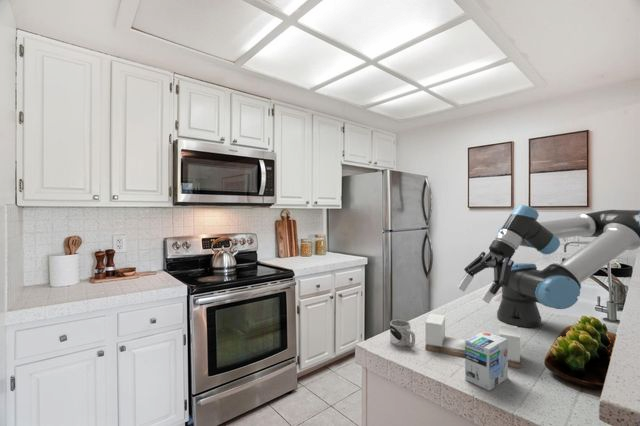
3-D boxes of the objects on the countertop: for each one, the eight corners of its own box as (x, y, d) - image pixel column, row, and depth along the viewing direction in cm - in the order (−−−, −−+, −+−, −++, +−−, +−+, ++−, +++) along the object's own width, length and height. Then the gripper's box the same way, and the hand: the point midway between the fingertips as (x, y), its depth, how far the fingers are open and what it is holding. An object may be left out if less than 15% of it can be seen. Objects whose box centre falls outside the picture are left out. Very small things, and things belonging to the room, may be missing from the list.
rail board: (516, 353, 97) (516, 347, 97) (520, 368, 89) (520, 362, 89) (430, 337, 110) (430, 332, 110) (425, 349, 101) (425, 343, 101)
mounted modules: (517, 348, 97) (517, 326, 97) (519, 361, 89) (520, 337, 89) (429, 333, 109) (429, 313, 109) (425, 343, 101) (425, 322, 101)
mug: (386, 340, 108) (386, 321, 108) (400, 336, 111) (400, 318, 111) (406, 352, 99) (406, 332, 99) (422, 348, 102) (422, 328, 102)
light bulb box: (489, 392, 78) (489, 349, 78) (463, 379, 83) (463, 340, 83) (508, 377, 84) (509, 338, 84) (483, 367, 90) (483, 330, 89)
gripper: (474, 235, 121) (444, 280, 120) (524, 243, 96) (487, 300, 95) (489, 246, 122) (459, 291, 121) (542, 256, 97) (505, 313, 96)
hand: (471, 295), depth 108 cm, fingers open, 13 cm apart
